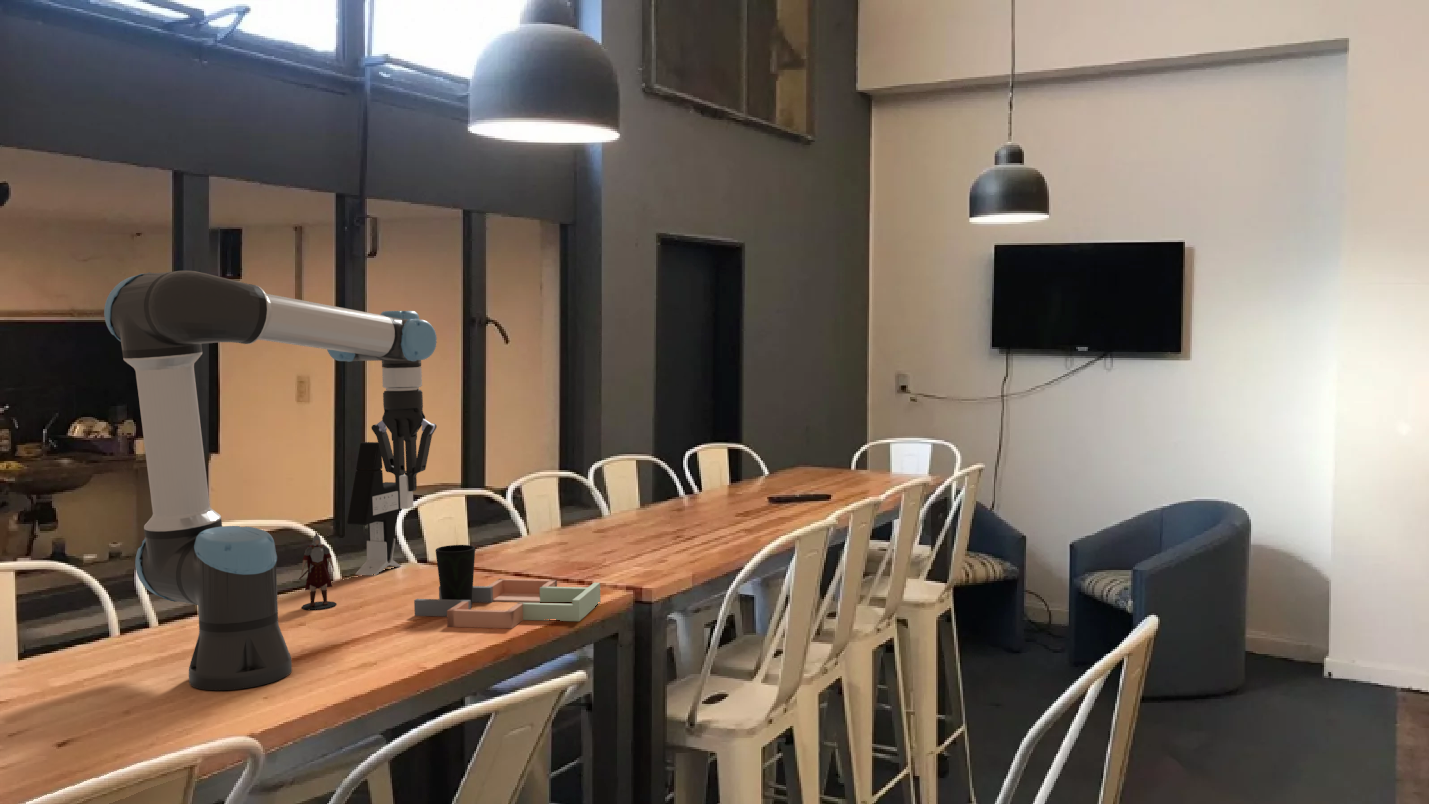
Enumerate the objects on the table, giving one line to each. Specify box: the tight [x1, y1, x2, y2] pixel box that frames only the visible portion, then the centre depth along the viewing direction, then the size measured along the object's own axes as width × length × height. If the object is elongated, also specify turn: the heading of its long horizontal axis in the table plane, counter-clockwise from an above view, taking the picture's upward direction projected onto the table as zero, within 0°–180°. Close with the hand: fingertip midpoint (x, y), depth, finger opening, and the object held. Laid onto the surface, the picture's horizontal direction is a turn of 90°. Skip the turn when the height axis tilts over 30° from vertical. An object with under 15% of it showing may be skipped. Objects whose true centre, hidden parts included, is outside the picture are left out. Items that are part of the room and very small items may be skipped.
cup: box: [435, 544, 476, 609], centre depth 223 cm, size 8×8×12 cm
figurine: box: [298, 532, 337, 611], centre depth 227 cm, size 7×7×15 cm
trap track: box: [413, 578, 601, 629], centre depth 221 cm, size 33×28×4 cm
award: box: [346, 441, 402, 577], centre depth 260 cm, size 15×5×30 cm, turn 161°
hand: (406, 507), depth 224 cm, fingers closed
